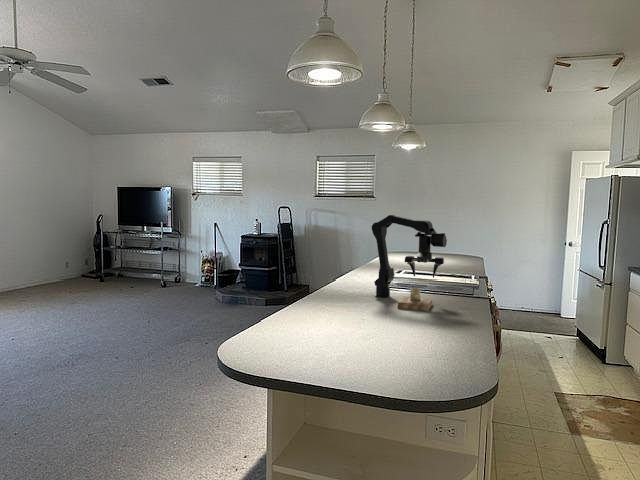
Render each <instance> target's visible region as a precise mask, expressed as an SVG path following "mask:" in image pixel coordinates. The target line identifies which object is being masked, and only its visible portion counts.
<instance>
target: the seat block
mask: <svg viewBox="0 0 640 480" xmlns="http://www.w3.org/2000/svg"><path fill="white" fill-rule="evenodd" d="M432 305H433V298H429V297H420V301H419V302H417V301H411V300H410V296H405V295H404V296H402V297H401V298H400V300H398V301H397V309H399V310H400V309H402V310H410V311H422V312H429V310H430V309H431V307H432Z"/></svg>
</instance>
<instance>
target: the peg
mask: <svg viewBox="0 0 640 480" xmlns="http://www.w3.org/2000/svg"><path fill="white" fill-rule="evenodd" d="M409 293H410V296H409V297H410V300H411V301H417V302H419V301H420V298H421V288H418V287H414V288H413V287H411V288H410V292H409Z"/></svg>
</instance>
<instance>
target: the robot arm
mask: <svg viewBox="0 0 640 480" xmlns="http://www.w3.org/2000/svg"><path fill="white" fill-rule="evenodd" d="M393 224H396V225H400V226H403V227H408V228H411V229H414V231H417V233H416V234H415V235H414V237H416V238H417V237H418V251H417V255H416V257H415V256H414V255H406V256H405V257H404V263H406V264H407V265H409V266H410V268H411V270H412V271H411V272H412V274H413V275H412V276H413V277H416V263H424V264H426V263H434V264H433V271H432V278H434V277H435V275H436V272H437V270H438V267H440V266H441V265H444V263H445V258H444V257H441V256H436V257H435V258H433V254H432V252H431V247H434V248H435V247H436V248H446V246H447V242H448V239H447V236H446V233H445V232H443V233H440V232H439V233H437V231H436V230H435V229H434V227H433V223H432V222H431V221H430V220H420V219H418V220H417V219H411V218H407V217H404V216H403V217H402V216H398V215H395V214H389V215H387V216H386V217H384V218H383V219H381V220H379V221H376V222H374V223H372V225H371V231H372V234H373V237H374V239H375V240H376V246H377V252H378V253H377V254H378V261H379V270H378V278H376V279H375V281H374V286H376V287H375V288H376V289H375V298H387V299H388V298H389V297H390V295H391V288H390V284H392V281H393V280H394V278H395V272H394V271H395V268H394V267H391V266H390V262H389V256H388V254H389V253H388V249H387V242H386V238H387V235H388V234H387V233H388V228H389V227H390V226H391V225H393Z"/></svg>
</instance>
